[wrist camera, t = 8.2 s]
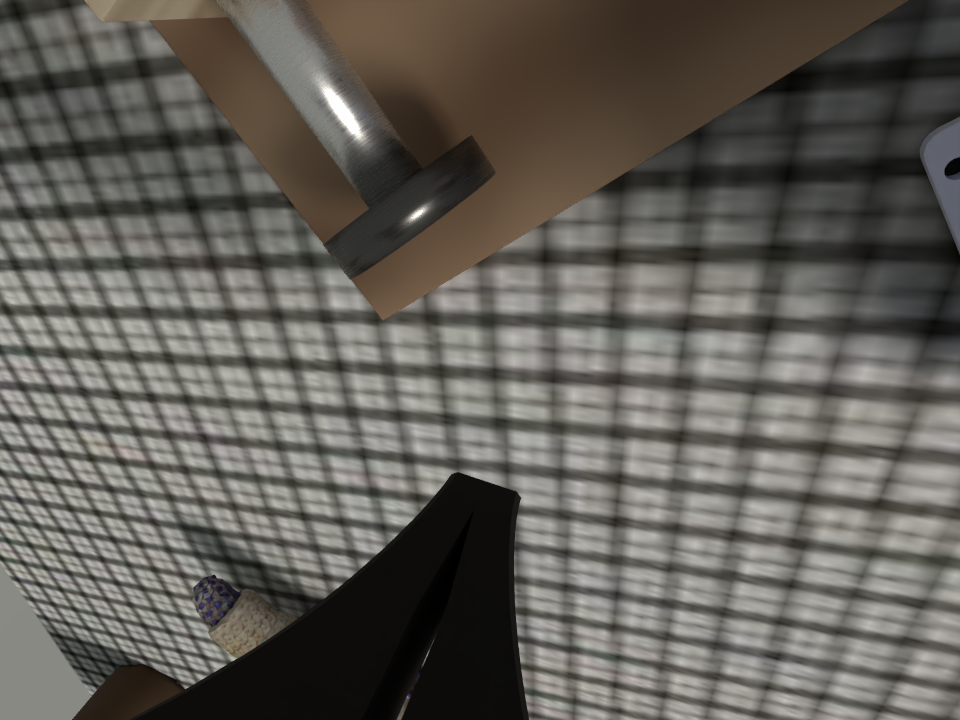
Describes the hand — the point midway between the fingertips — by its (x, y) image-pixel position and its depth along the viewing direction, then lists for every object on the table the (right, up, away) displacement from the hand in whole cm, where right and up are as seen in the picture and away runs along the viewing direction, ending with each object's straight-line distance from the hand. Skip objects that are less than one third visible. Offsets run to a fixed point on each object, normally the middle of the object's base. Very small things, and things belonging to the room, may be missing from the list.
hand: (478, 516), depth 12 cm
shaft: (-3, +11, +3) cm, 12 cm away
